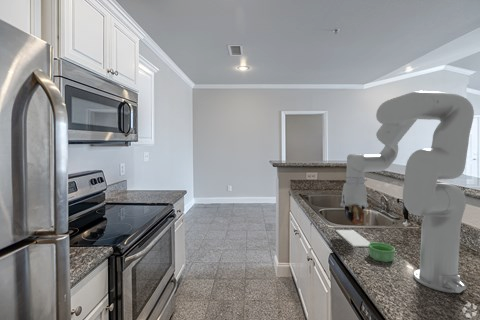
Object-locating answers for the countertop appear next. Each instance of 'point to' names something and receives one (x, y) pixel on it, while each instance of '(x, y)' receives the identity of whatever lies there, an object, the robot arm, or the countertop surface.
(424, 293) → the countertop surface
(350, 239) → the mat
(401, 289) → the countertop surface
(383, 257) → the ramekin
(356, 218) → the tin
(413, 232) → the countertop surface
